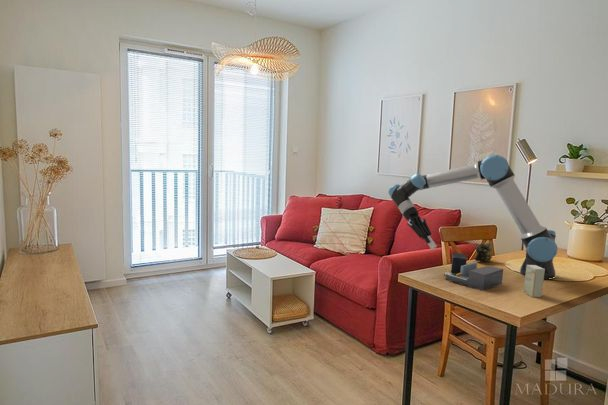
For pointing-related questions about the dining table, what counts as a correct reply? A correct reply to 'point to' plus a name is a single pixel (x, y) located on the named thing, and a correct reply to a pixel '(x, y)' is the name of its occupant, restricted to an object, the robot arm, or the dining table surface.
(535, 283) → the skincare box
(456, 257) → the small box
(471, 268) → the blue-grey flat panel
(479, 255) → the seashell
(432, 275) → the dining table surface
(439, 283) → the dining table surface
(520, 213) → the robot arm
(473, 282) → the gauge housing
